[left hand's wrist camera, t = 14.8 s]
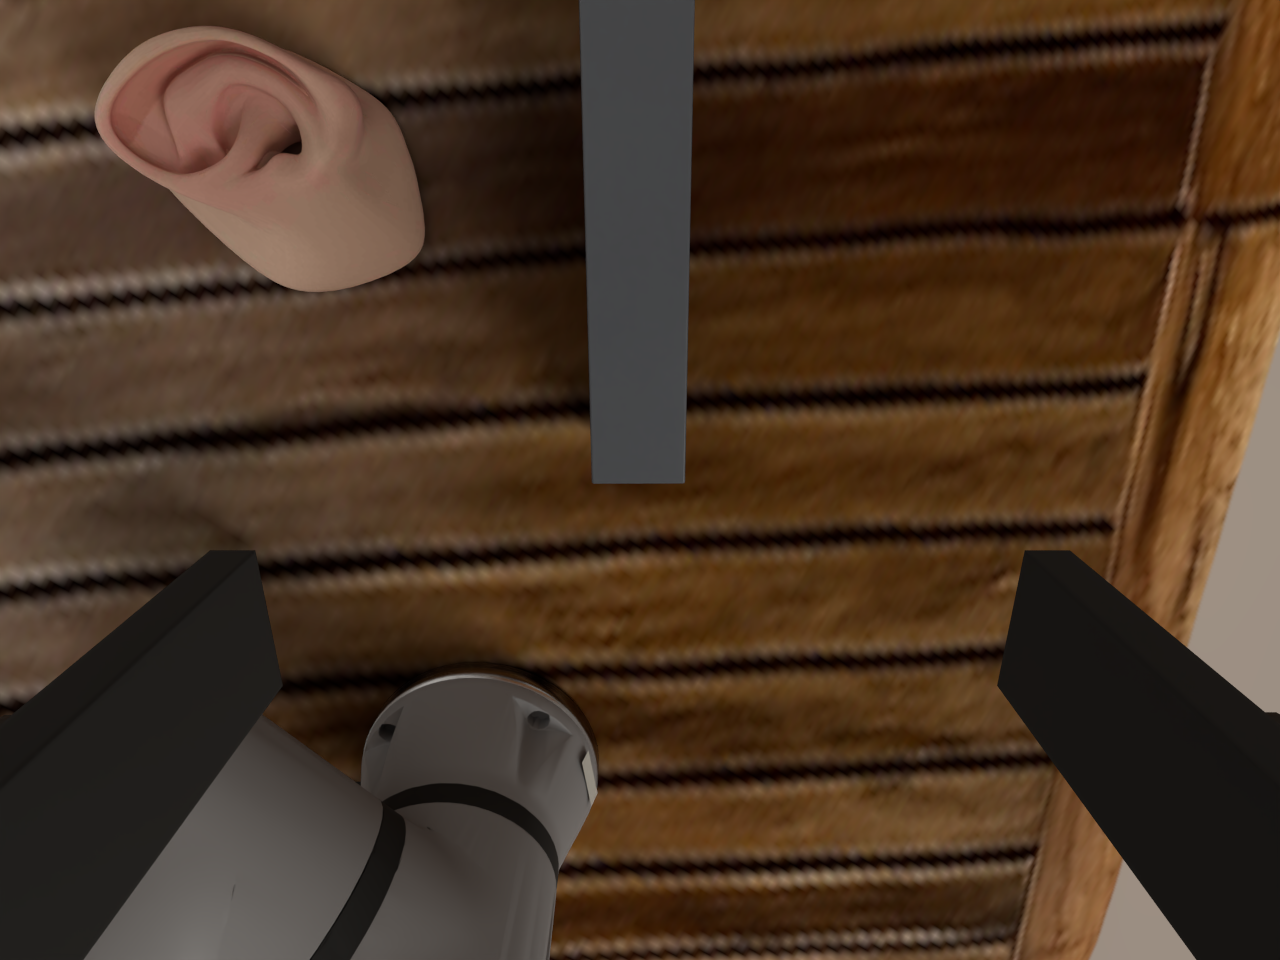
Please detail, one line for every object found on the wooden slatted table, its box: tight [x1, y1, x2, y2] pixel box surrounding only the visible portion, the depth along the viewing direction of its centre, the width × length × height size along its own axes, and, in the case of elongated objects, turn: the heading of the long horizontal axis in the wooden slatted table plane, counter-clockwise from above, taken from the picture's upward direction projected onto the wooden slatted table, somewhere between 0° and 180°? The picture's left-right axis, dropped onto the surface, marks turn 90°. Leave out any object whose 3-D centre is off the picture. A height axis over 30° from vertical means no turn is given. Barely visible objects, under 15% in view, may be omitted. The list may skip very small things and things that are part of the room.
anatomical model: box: [95, 26, 425, 292], centre depth 35 cm, size 13×4×12 cm
